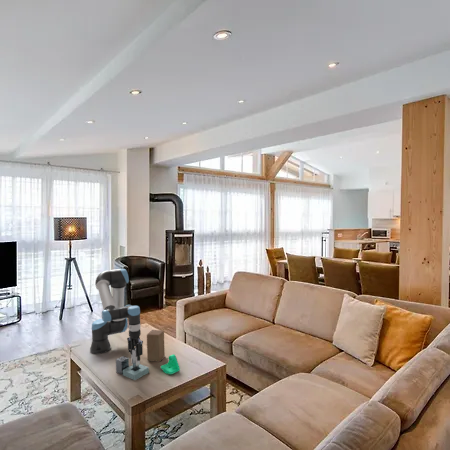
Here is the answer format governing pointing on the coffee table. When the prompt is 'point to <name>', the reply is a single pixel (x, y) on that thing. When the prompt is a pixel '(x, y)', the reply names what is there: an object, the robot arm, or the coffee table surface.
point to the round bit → (134, 360)
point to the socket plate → (135, 372)
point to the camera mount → (171, 365)
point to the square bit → (121, 364)
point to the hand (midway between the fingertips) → (135, 364)
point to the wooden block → (155, 345)
